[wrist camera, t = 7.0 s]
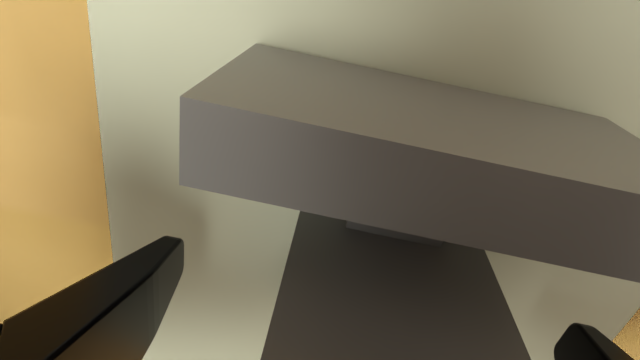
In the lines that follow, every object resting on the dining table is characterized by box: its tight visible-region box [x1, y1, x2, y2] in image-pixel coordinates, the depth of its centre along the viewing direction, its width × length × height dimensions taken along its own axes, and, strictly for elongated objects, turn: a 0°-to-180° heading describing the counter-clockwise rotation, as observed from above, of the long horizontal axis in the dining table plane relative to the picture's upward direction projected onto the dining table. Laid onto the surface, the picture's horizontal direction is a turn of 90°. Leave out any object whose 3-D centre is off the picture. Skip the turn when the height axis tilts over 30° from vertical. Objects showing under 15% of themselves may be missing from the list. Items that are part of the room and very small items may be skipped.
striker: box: [179, 43, 640, 360], centre depth 7 cm, size 7×7×6 cm
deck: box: [87, 0, 640, 360], centre depth 9 cm, size 21×14×2 cm, turn 169°
